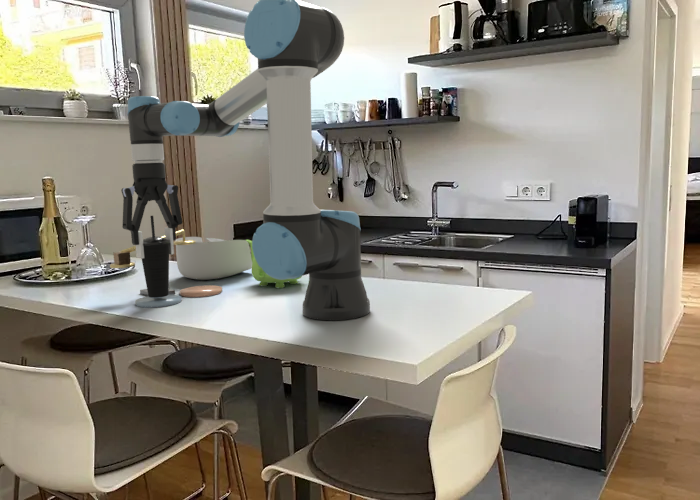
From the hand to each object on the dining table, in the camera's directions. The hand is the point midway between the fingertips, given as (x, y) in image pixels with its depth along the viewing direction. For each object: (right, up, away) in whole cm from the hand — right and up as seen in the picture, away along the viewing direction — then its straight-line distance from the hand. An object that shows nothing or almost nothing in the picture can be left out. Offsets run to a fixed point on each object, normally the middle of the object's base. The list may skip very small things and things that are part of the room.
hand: (155, 255), depth 154 cm
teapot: (+27, -8, +21) cm, 35 cm away
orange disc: (+8, -10, +12) cm, 18 cm away
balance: (-3, -10, +12) cm, 16 cm away
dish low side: (0, -12, +2) cm, 12 cm away
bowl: (+6, -7, +35) cm, 37 cm away
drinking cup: (0, -10, +1) cm, 10 cm away
